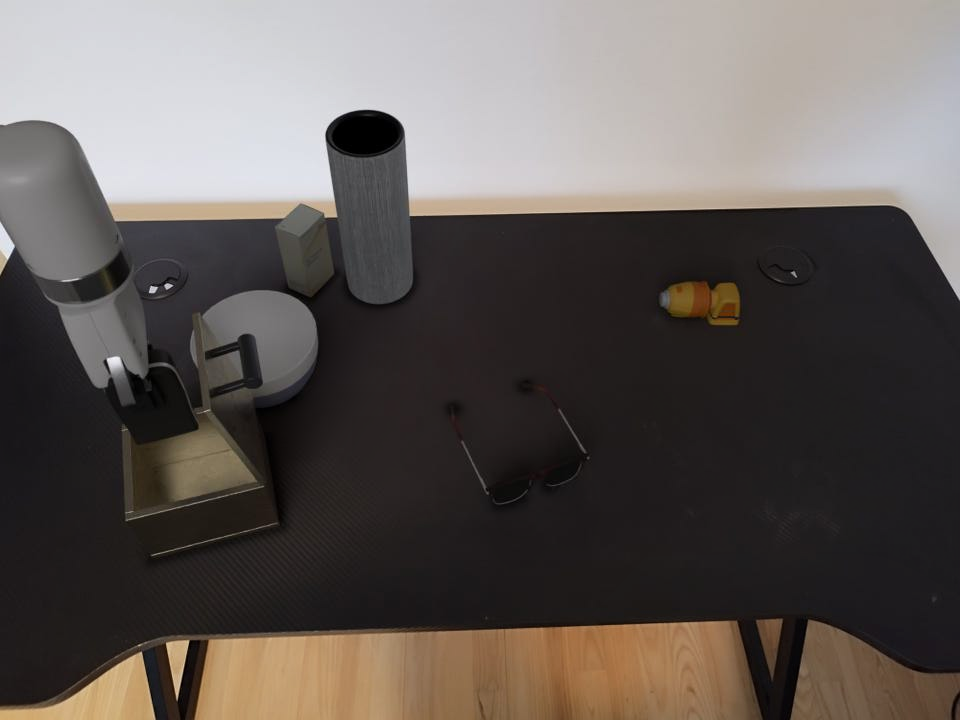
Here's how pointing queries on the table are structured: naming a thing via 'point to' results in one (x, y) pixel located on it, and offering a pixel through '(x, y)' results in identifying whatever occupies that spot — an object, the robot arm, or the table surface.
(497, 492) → the sunglasses
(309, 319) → the white round container
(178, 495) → the brown hollow box
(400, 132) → the vase
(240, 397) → the lid
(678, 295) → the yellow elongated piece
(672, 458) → the table surface
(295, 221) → the cosmetic box
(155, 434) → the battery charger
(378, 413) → the table surface
